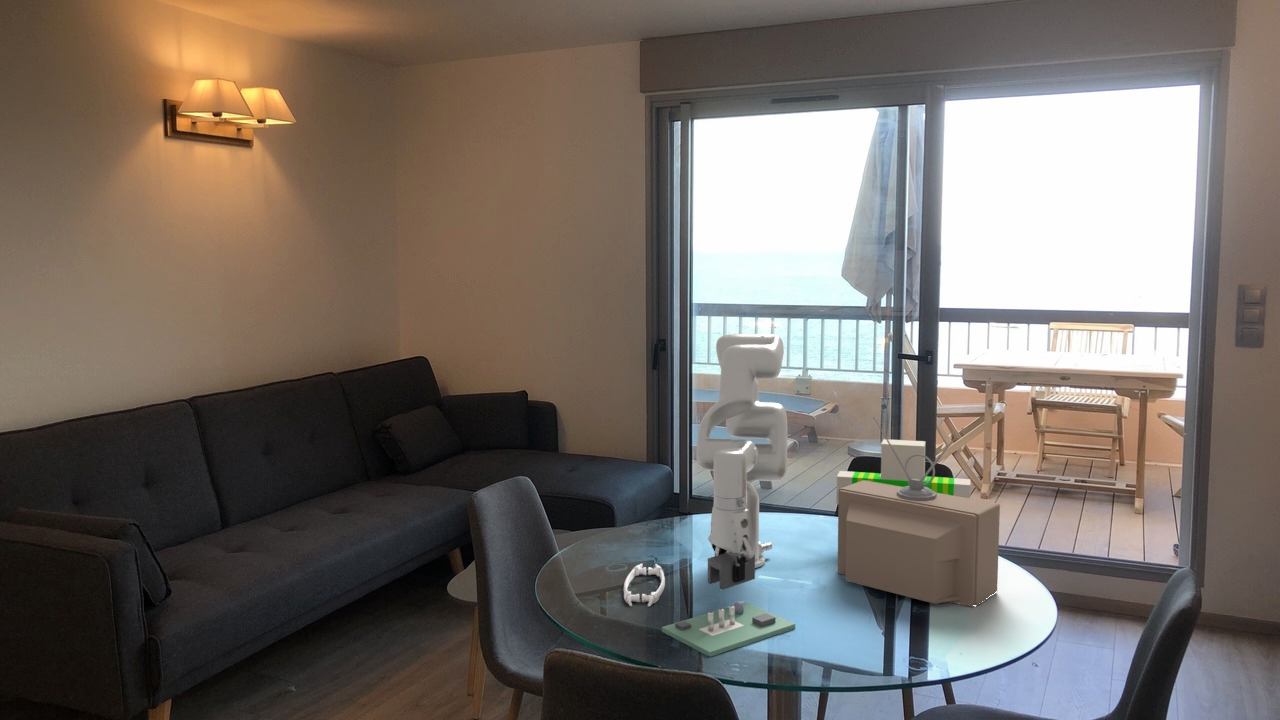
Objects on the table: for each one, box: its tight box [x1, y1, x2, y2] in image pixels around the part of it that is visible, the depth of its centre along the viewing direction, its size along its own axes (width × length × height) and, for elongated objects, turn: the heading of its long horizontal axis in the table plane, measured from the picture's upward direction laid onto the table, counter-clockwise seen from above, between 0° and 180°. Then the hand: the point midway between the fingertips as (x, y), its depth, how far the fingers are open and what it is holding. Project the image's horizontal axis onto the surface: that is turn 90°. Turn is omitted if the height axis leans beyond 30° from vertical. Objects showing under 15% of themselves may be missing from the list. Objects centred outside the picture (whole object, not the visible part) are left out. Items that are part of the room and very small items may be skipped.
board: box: [661, 600, 796, 658], centre depth 201 cm, size 24×16×3 cm, turn 126°
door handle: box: [623, 563, 666, 607], centre depth 227 cm, size 3×10×25 cm
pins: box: [707, 604, 735, 632], centre depth 199 cm, size 7×1×4 cm, turn 126°
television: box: [837, 417, 1001, 607], centre depth 224 cm, size 36×20×40 cm, turn 47°
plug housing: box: [707, 552, 756, 591], centre depth 216 cm, size 10×5×6 cm, turn 125°
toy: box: [835, 438, 971, 505], centre depth 250 cm, size 34×7×30 cm, turn 71°
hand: (730, 576), depth 216 cm, fingers closed on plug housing, 5 cm apart
